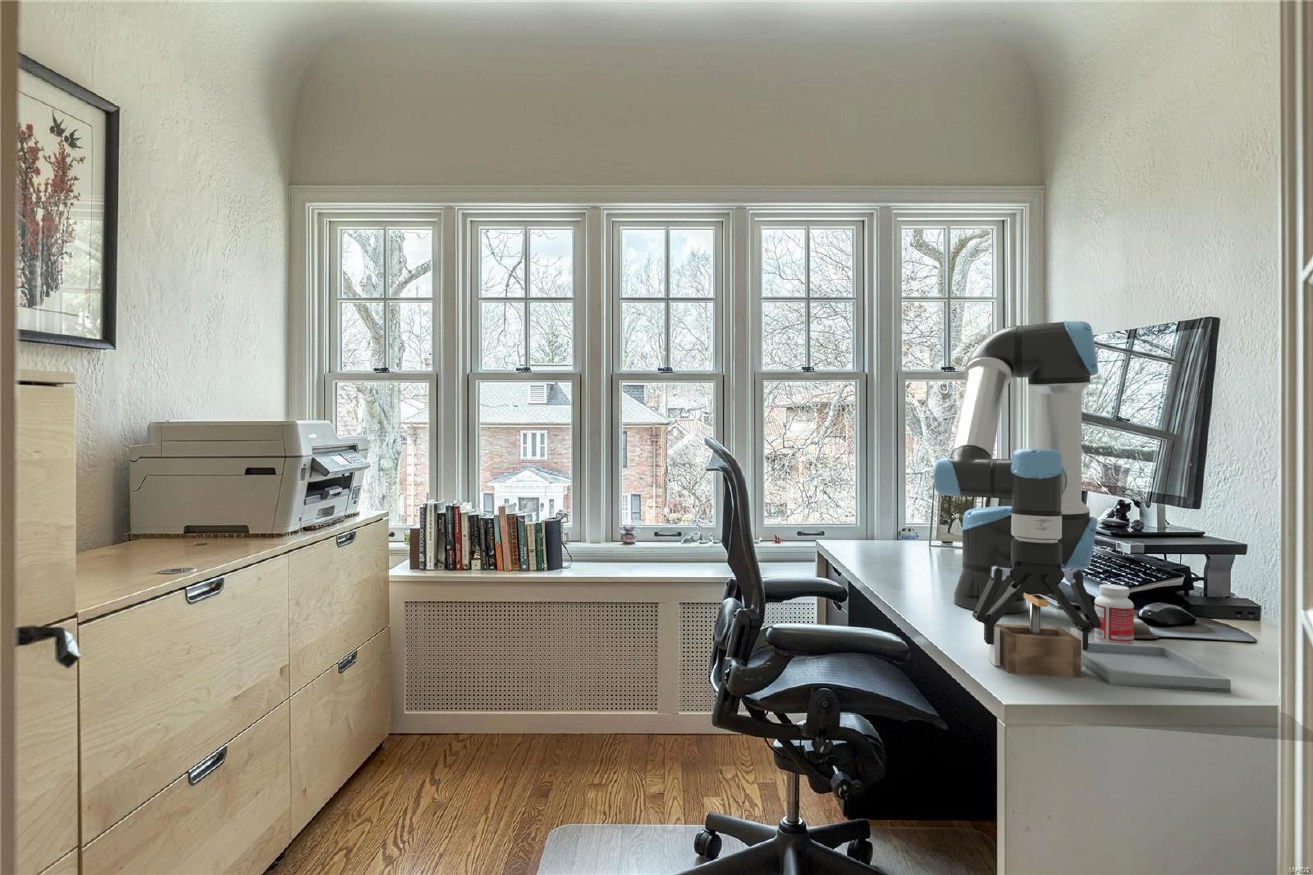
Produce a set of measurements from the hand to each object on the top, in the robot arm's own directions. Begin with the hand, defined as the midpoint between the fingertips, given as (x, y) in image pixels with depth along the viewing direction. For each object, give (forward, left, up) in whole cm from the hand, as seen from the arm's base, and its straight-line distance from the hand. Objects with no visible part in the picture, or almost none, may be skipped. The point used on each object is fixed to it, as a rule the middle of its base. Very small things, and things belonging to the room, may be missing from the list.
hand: (1034, 666), depth 113 cm
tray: (-2, +17, 0) cm, 17 cm away
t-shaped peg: (0, 0, 0) cm, 0 cm away
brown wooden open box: (0, 0, 0) cm, 0 cm away
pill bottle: (-17, +20, 0) cm, 26 cm away
